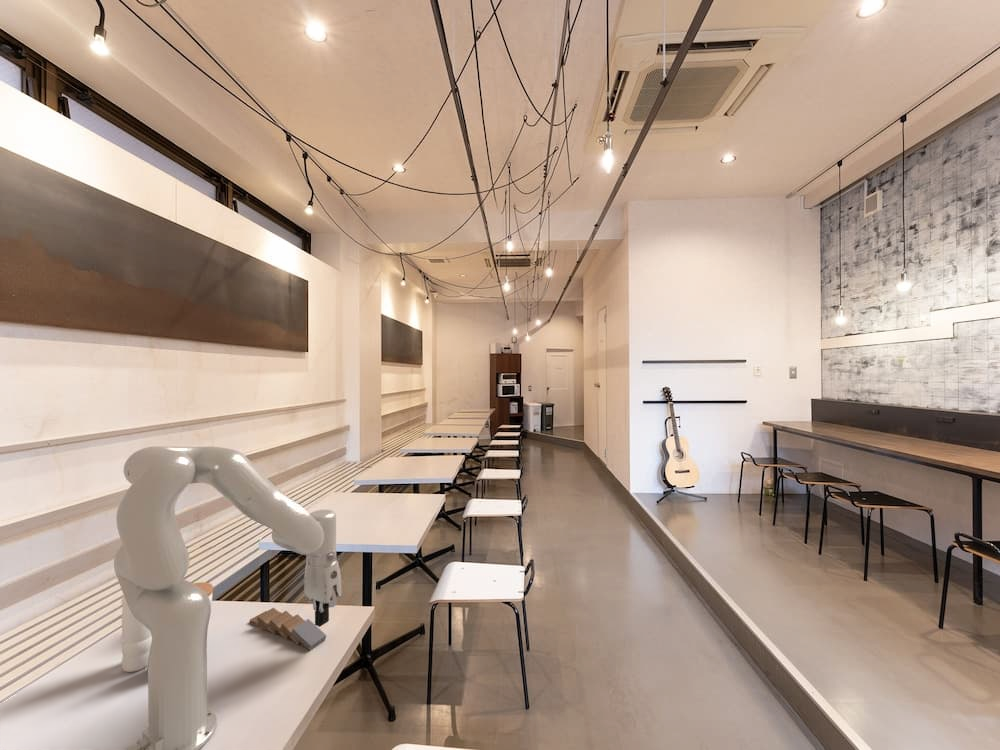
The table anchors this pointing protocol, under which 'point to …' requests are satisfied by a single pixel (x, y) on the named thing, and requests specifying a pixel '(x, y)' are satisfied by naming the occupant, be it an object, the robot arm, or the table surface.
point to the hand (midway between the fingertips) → (322, 623)
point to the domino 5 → (308, 634)
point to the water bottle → (134, 641)
